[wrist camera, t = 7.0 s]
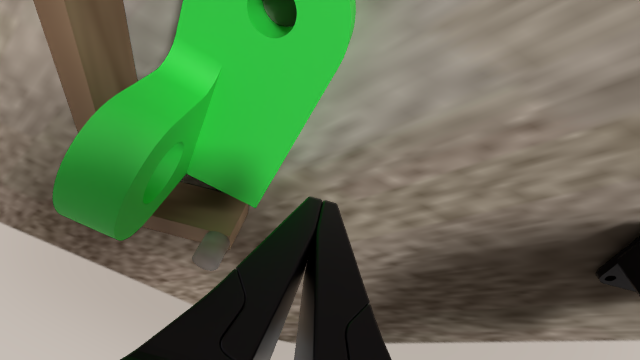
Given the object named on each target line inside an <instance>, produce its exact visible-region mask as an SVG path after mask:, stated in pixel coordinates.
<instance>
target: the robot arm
mask: <svg viewBox="0 0 640 360" xmlns="http://www.w3.org/2000/svg"><path fill="white" fill-rule="evenodd" d="M308 256H309V257H308ZM307 260H308V261H307ZM306 264H307V265H306ZM305 267H306V269H305ZM304 271H305V275H304V282H303V290H302V298H301V307H300V315H299V323H298V332H297V340H296V349H295V357H294V360H391V357H390V355H389V353H388V350H387V349H386V346H385V343H384V341H383V339H382V336H381V333H380V331H379V328H378V325H377V322H376V320H375V317H374V314H373V311H372V308H371V305H370V304H369V299H368V296H367V293H366V290H365V287H364V284H363V281H362V278H361V275H360V272H359V269H358V266H357V263H356V260H355V257H354V253H353V250H352V247H351V244H350V241H349V238H348V235H347V232H346V229H345V226H344V223H343V220H342V217H341V214H340V211H339V208H338V205H337V204H336V203H333V202H329V201H323V202H322V200H321V199H318V198H314V197H308V198H307V199H306V200H305V201H304V202H303V203H302V204H301V205H300V206H299V207H298V208H297V209H296V210H294V211H293V212H292V213H291V214H290V215H289V216H288V217H287V218H286V219H285V220H284V221H283V222H282V223H281V224H280V225H279V226H278V227H277V228H276V229H275V230H274V231H273V232H272V233H271V234H270V235H269V236H268V237H267V238H266V239H265V240H264V241H263V242H262V243H261V244H260V245H259V246H258V247H257V248H256V249H254V250H253V251H252V252H251V253H250V254H249V255H248V256H247V257H246V258H245V259H244V260H243V261H242V262H241V263H240V264H239V265H238V266H237V267H236V269H234V270H233V271H232V272H231V273H230V274H229V275H228V276H227V277H226V278H225V279H224V280H222V281H221V282H220V283H219V284H218V285H217V286H216V287H215V288H214V289H213V290H211V291H210V292H209V293H208V294H207V295H206V296H204V297H203V298H202V299H201V300H199V301H198V302H197V303H196V304H195V305H193V306H192V307H191V308H190V309H188V310H187V311H186V312H184V313H183V314H182V315H180V316H179V317H178V318H177V319H175V320H174V321H173V322H171V323H170V324H169V325H168V326H166V327H165V328H164V329H162V330H161V331H160V332H158V333H157V334H156V335H155V336H153V337H152V338H151V339H149V340H148V341H147V342H145V343H144V344H143V345H141V346H140V347H139V348H138V349H136V350H135V351H133V352H132V353H130V354H129V355H127V356H126V357H124V358H122V359H120V360H270V358H271V356H272V353H273V351H274V348H275V346H276V343H277V341H278V338H279V336H280V333H281V330H282V328H283V325H284V323H285V320H286V318H287V315H288V313H289V310H290V308H291V305H292V302H293V300H294V297H295V295H296V292H297V290H298V287H299V285H300V282H301V280H302V277H303V274H304ZM596 275H597V277H598V279H599V280H600V282H602V283H604V284H608V285H612V286H616V287H619V288H623V289H627V290H631V291H635V292H637V293H638V295H639V296H640V237H639V238H637V239H636V240H635V241H634V242H632V243H631V244H630V245H629V246H627V247H626V248H625V249H624V250H622V251H621V252H620V253H619V254H617V255H616V256H615V257H614V258H612V259H611V260H610V261H609V262H607V263H606V264H605V265H604V266H602V267H601V268H600V269H599V270H598V271H597V272H596Z"/></svg>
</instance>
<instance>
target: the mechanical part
mask: <svg viewBox="0 0 640 360" xmlns="http://www.w3.org/2000/svg"><path fill="white" fill-rule="evenodd" d="M294 1H295V4H296V9H297V17H296V22H295V25H293V26H290V27H284V26H280V25H278V24H276V23H274V22H273V21H272V20H271V19H270V18H269V17H268V15H267V14H266V12H265V9H264V6H263V0H183V3H182V8H181V13H180V17H179V22H178V26H177V31H176V36H175V39H174V43H173V45H172V48H171V50H170V52H169V54H168V56H167V57H166V59H165V61H164V62H163V63H162V64H161V66H160V67H159V68H158V69H157V70H155V71H154V72H152V73H151V74H149V75H148V76H146V77H144V78H143V79H141V80H139V81H138V82H136V83H134V84H133V85H131V86H130V87H128V88H126V89H125V90H123V91H121V92H120V93H118V94H117V95H115V96H114V97H112V98H111V99H110V100H108V101H107V102H106V103H105V104H104V105H103V106H102V107H100V108H99V109H98V110H97V111H96V112H95V113H94V115H93V116H92V117H91V118H90V119H89V120H88V121H87V123H86V124H85V125H84V126H83V128H82V129H81V130H80V132H79V133H78V135H77V136H76V138H75V139H74V141H73V142H72V144H71V146H70V147H69V149H68V151H67V153H66V155H65V157H64V159H63V161H62V163H61V165H60V168H59V170H58V173H57V176H56V179H55V183H54V188H53V205H54V207H55V209H56V211H57V212H58V213H59V214H61V215H62V216H65V217H67V218H69V219H71V220H74V221H76V222H78V223H80V224H83V225H85V226H87V227H89V228H92V229H94V230H96V231H98V232H101V233H103V234H105V235H107V236H110V237H112V238H114V239H116V240H119V241H121V240H125V239H127V238H129V237H130V236H132V235H133V234H134V233H135V232H137V231H138V230H139V229H140V228H141V227H142V226H143V225H144V224H145V222H146V221H147V220H148V219H149V218H150V217H151V216H152V214H153V213H154V212H155V211H156V210H157V208H158V207H159V206H160V205H161V204H162V202H163V201H164V200H165V199H166V198H167V196H168V195H169V194H170V193H171V191H172V190H173V189H174V188H175V187H176V185H177V184H178V183H179V182H180V181H181V179H182V178H183V177H184V176H185V175H186V174H188V175H190V176H192V177H194V178H196V179H198V180H200V181H202V182H204V183H206V184H208V185H210V186H212V187H214V188H216V189H218V190H220V191H222V192H224V193H226V194H228V195H230V196H232V197H234V198H236V199H238V200H240V201H242V202H244V203H246V204H248V205H250V206H252V207H254V208H256V207H257V205H258V203H259V202H260V200H261V198H262V197H263V195H264V193H265V191H266V190H267V188H268V186H269V185H270V183H271V181H272V180H273V178H274V176H275V174H276V173H277V171H278V169H279V168H280V166H281V164H282V163H283V161H284V159H285V157H286V156H287V154H288V152H289V151H290V149H291V147H292V145H293V144H294V142H295V140H296V139H297V137H298V135H299V134H300V132H301V130H302V128H303V127H304V125H305V123H306V122H307V120H308V118H309V117H310V115H311V113H312V111H313V110H314V108H315V106H316V105H317V103H318V101H319V100H320V98H321V96H322V94H323V93H324V91H325V89H326V88H327V86H328V84H329V83H330V81H331V79H332V77H333V76H334V74H335V72H336V71H337V69H338V67H339V65H340V64H341V62H342V60H343V58H344V55H345V52H346V50H347V47H348V44H349V42H350V39H351V36H352V32H353V28H354V23H355V13H356V8H355V0H294Z"/></svg>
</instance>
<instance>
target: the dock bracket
mask: <svg viewBox="0 0 640 360" xmlns="http://www.w3.org/2000/svg"><path fill="white" fill-rule="evenodd" d="M33 1H34V4H35V7H36V10H37V13H38V16H39V19H40V22H41V25H42V28H43V31H44V33H45V36H46V39H47V42H48V45H49V48H50V51H51V54H52V57H53V60H54V63H55V66H56V69H57V72H58V75H59V78H60V81H61V84H62V87H63V90H64V93H65V96H66V99H67V102H68V104H69V107H70V110H71V113H72V116H73V119H74V122H75V125H76V128H77V131H78V133H79V132H80V130H81V129H82V128H83V126H84V125H85V124H86V123H87V121H88V120H89V119H90V118H91V117H92V116H93V115H94V113H95V112H96V111H97V110H98V109H99V108H100V107H102V106H103V105H104V104H105V103H106V102H107V101H108V100H110V99H111V98H112V97H114V96H115V95H117V94H118V93H120V92H121V91H123V90H125V89H126V88H128V87H130V86H131V85H133V84H134V83H136V82H137V76H136V71H135V65H134V60H133V54H132V48H131V43H130V37H129V32H128V26H127V21H126V15H125V10H124V4H123V0H33ZM248 206H249V205H248V204H246V203H244V202H242V201H240V200H238V199H236V198H234V197H232V196H230V195H228V194H225V193H222V192H218V191H214V190H210V189H206V188H202V187H198V186H195V185H191V184H187V183H183V182H179V183H178V184H177V185H176V187H175V188H174V189H173V190H172V191H171V193H170V194H169V195H168V196H167V198H166V199H165V200H164V201H163V202H162V204H161V205H160V206H159V207H158V208H157V210H156V211H155V212H154V213H153V214H152V216H151V217H150V218H149V219H148V220H147V221H146V222H145V224H144V225H143V226H142V227H144V228H148V229H152V230H156V231H159V232H163V233H167V234H171V235H175V236H179V237H182V238H186V239H190V240H194V241H198V242H201V243H200V245H199V246H198V248H197V250H196V251H195V253H194V255H193V257H192V259H193V262H194V263H195V264H196V265H197V266H199V267H200V268H202V269H205V270H210V271H212V270H216V269H217V268H218V267H219V265H220V263H221V261H222V259H223V257H224V255H225V253H226V251H227V249H228V250H230V248H231V246H232V244H233V242H234V240H235V238H236V236H237V234H238V232H239V230H240V228H241V226H242V224H243V222H244V220H245V218H246V216H247V214H248Z"/></svg>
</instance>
